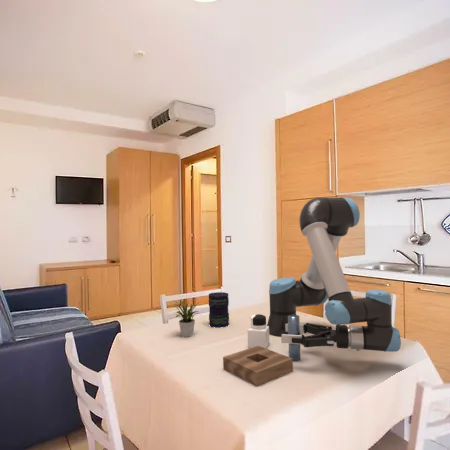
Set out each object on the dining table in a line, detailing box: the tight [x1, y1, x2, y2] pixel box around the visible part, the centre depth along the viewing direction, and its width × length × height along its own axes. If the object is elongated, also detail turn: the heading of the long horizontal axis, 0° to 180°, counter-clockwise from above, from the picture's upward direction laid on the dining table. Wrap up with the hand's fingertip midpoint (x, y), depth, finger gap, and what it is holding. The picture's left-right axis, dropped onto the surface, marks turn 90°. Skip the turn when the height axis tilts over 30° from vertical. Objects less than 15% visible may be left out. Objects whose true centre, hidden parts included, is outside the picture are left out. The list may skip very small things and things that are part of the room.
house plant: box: [172, 299, 202, 338], centre depth 146 cm, size 14×14×16 cm
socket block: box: [222, 346, 294, 387], centre depth 107 cm, size 16×16×4 cm
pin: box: [288, 314, 301, 362], centre depth 116 cm, size 4×4×15 cm
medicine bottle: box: [247, 313, 270, 349], centre depth 130 cm, size 7×7×12 cm
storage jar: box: [208, 291, 230, 329], centre depth 160 cm, size 10×10×15 cm
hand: (283, 332), depth 117 cm, fingers open, 12 cm apart
